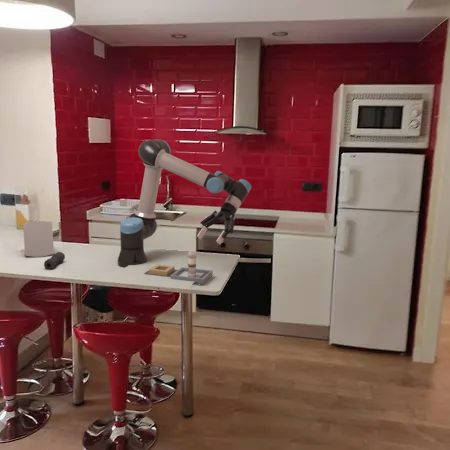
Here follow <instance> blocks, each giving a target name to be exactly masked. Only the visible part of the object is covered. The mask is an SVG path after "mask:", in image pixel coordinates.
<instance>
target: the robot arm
mask: <svg viewBox="0 0 450 450" xmlns="http://www.w3.org/2000/svg"><path fill="white" fill-rule="evenodd" d="M137 152H138V156H139V158H140V159H141V160H142V165H144V167H145V168H144V174H143V180H142V185H141V191H140V196H139V197H140V198H139V202H138V209H137V210H136V211H134V215H133V217H129V218H124V219H123V220H121V221H120V226H119V232H120V233H119V235H120V237H119V238H120V252H119V254H118V257H117V266H119V267H121V268H127V267H128V266H139V265H143V264H146V263H147V262H148V258H147V255H146V253H145V249H144V247H145V246H144V240H147V239H148V238H150V237H151V236H153V235H154V234H155V232H156V231H157V229H158V223H157V220H156V219H157V215H156V214H155V208H156V203H157V198H158V197H157V196H158V191H159V188H160V187H159V186H160V182H161V175H162V171H163V170H166V171H168V172H170V173H173V174H175V175H177V176H180V177H181V178H183V179H186V180H187V181H190V182H192V183H194V184H197V185H198V186H201V187H203V188H205V189H206V190H208V192H210V193H211V194H218V193H221V192H222V191H223V192H225V193H227V194H229V195H227V198H225V201H224V203H222V205H221V206H220V210H219V211H217V210H214V211H213V212H212V214H210V215H209V216H207V217H206V218H205V219H204V220H203V221H202V222H200V224H201V225H202V226H201V228H200V230H199V232H198V234H197V235H196V237H197V238H198V239H199V240H202V238H203V237H204V235H205V234H206V232H207V231H208V228H210V227H212V226H213V225H214V224H216V223H223V224H224V229H223V230H222V232H221V233H220V235H219V236H218V237H217V239H216V241H215V242H216V243H217V244H218V245H219V246H220V245H221V244H222V243H223V241H224V240H225V239H226V238H227V237H228V235H229V234H233V233H234V230H235V229H234V228H235V221H236V220H237V217H236V213H237V210H239V208H240V206H241V205H242V204H243V202H244V201H245V199H246V198H247V196H248V195H249V193H250V191H251V189H252V185H251V183H250V182H249V181H248V180H246V179H243V178H240V179H239V180H236V179H234V178H232V177H230V176H229V175H227V174H226V173H224V172H222V171H220V170H217V171H216V172H215V173H211V172H210V171H207V170H206V169H202V168H200V167H198V166H196V165H194V164H192V163H191V162H190V163H189V162H188V161H185V160H183V159H181V158H178V157H176V156H174V155H172V154H171V147H170V145H169V143H168V142H167V141H165V140H162V139H158V138H156V139H147V140H144V141H142V142H141V143H140V145H139V146H138V151H137Z"/></svg>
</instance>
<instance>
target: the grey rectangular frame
mask: <svg viewBox="0 0 450 450" xmlns="http://www.w3.org/2000/svg"><path fill="white" fill-rule="evenodd" d="M176 270H177V271H176V272H175V273H173V274H172V275H171V277H170V280H177V281H184V282H185V281H186V282H193V283H192V285H193V284H200V285H199V286H202V285H203V286H204V285H206V284H207V281H208V280H209V279H210V278H211V277H212V276H213V275H214V274H213V272H214V271H213V270H208V269H201V268H200V269H199V268H196V274H202V275H200V276H199V277H188V276H183V275H180V274H181V273H183V272H186V273H188V267H180V268H179V269H176ZM212 278H213V277H212ZM212 278H211V279H212ZM211 279H210V280H211ZM208 282H209V281H208Z"/></svg>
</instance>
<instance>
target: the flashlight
mask: <svg viewBox="0 0 450 450" xmlns="http://www.w3.org/2000/svg"><path fill="white" fill-rule="evenodd" d="M65 259H66V255H65V253H63V252H62V251H56V253H55V252H54V253H53V254H52V256H51V257H50V258H47V259H46V260H45V261H44V264H43V266H44V268H45V269H46V270H48V271H50V270H52V269H54V268H56V266H58V265H59V264H61V263H62V262H64V260H65Z"/></svg>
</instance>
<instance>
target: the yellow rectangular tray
mask: <svg viewBox="0 0 450 450" xmlns="http://www.w3.org/2000/svg"><path fill="white" fill-rule="evenodd" d="M177 270H178V269H175V266H174V265H166V264H155V265H154V266H152V267H151V268H149V269H148V270H147V271H145V272H144V273H143V275H147V276H157V277H166V278H171V275H172V274H173V273H175V272H176V271H177Z"/></svg>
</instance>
